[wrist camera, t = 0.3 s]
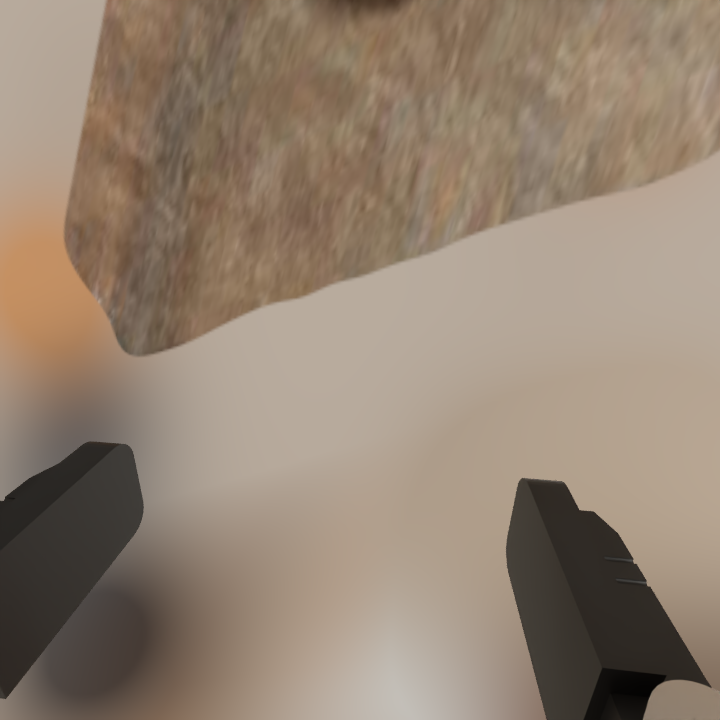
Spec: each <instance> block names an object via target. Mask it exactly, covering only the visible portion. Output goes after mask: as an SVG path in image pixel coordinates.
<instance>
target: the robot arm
mask: <svg viewBox="0 0 720 720" xmlns="http://www.w3.org/2000/svg"><path fill="white" fill-rule="evenodd" d="M143 508H144V507H143V499H142V494H141V489H140V484H139V479H138V474H137V469H136V464H135V459H134V455H133V451H132V449H131V448H130V447H129V446H128V445H126V444H116V443H103V442H87V443H85V444H83V445H82V446H80V447H79V448H78V449H77V450H75V451H74V452H73V453H72V454H70V455H69V456H68V457H67V458H65V459H64V460H63V461H62V462H60V463H59V464H57V465H55V466H53V467H51V468H49V469H47V470H45V471H43V472H41V473H39V474H37V475H35V476H33V477H31V478H29V479H28V480H26V481H25V482H24V483H23V484H21V485H20V486H19V487H17V488H16V489H15V490H13V491H12V492H11V493H10V494H8V495H7V496H6V497H5V500H4V501H0V698H3V699H6V698H7V697H8V696H9V694H10V693H11V692H12V690H13V689H14V688H15V687H16V685H17V684H18V683H19V681H20V680H21V679H22V678H23V676H24V675H25V674H26V673H27V671H28V670H29V669H30V667H31V666H32V665H33V663H34V662H35V661H36V660H37V658H38V657H39V656H40V655H41V653H42V652H43V651H44V650H45V648H46V647H47V646H48V644H49V643H50V642H51V641H52V639H53V638H54V637H55V635H56V634H57V633H58V632H59V630H60V629H61V628H62V626H63V625H64V624H65V623H66V621H67V620H68V619H69V617H70V616H71V615H72V614H73V612H74V611H75V610H76V609H77V607H78V606H79V605H80V603H81V602H82V601H83V600H84V598H85V597H86V596H87V594H88V593H89V592H90V591H91V589H92V588H93V587H94V585H95V584H96V583H97V582H98V580H99V579H100V578H101V577H102V575H103V574H104V573H105V571H106V570H107V569H108V568H109V566H110V565H111V564H112V562H113V561H114V560H115V559H116V557H117V556H118V555H119V553H120V552H121V551H122V550H123V548H124V547H125V546H126V545H127V543H128V542H129V541H130V539H131V538H132V537H133V536H134V534H135V533H136V531H137V529H138V527H139V525H140V523H141V520H142V515H143ZM506 557H507V567H508V573H509V577H510V581H511V584H512V588H513V592H514V595H515V600H516V604H517V607H518V611H519V615H520V619H521V623H522V627H523V630H524V634H525V638H526V642H527V646H528V650H529V653H530V657H531V661H532V665H533V669H534V673H535V676H536V680H537V684H538V688H539V692H540V696H541V700H542V703H543V707H544V711H545V715H546V719H547V720H720V692H719V691H717V690H715V689H713V688H712V687H711V686H710V684H709V683H708V681H707V680H706V678H705V677H704V675H703V673H702V672H701V670H700V668H699V667H698V665H697V663H696V662H695V660H694V658H693V657H692V655H691V654H690V652H689V650H688V649H687V647H686V645H685V644H684V642H683V640H682V639H681V637H680V635H679V634H678V632H677V630H676V629H675V627H674V625H673V624H672V622H671V620H670V619H669V617H668V615H667V614H666V612H665V611H664V609H663V607H662V605H661V604H660V602H659V601H658V599H657V598H656V596H655V594H654V592H653V591H652V589H651V587H648V586H647V584H646V579H645V577H644V576H643V574H642V572H641V571H640V569H639V567H638V566H637V564H634V563H633V557H632V556H631V554H630V553H629V551H628V549H627V548H626V546H625V544H624V543H623V541H622V539H621V538H620V536H619V534H618V533H617V532H616V531H615V530H614V529H612V528H611V527H610V526H609V525H608V524H607V523H606V522H605V521H604V520H602V519H601V518H600V517H599V516H598V515H597V514H596V513H595V512H592V511H581V510H579V508H578V506H577V505H576V503H575V501H574V499H573V497H572V495H571V493H570V491H569V489H568V487H567V486H566V484H565V483H564V482H562V481H551V480H539V479H527V478H522V479H521V480H520V481H519V483H518V487H517V491H516V497H515V502H514V506H513V511H512V516H511V521H510V526H509V532H508V537H507V546H506Z"/></svg>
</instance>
